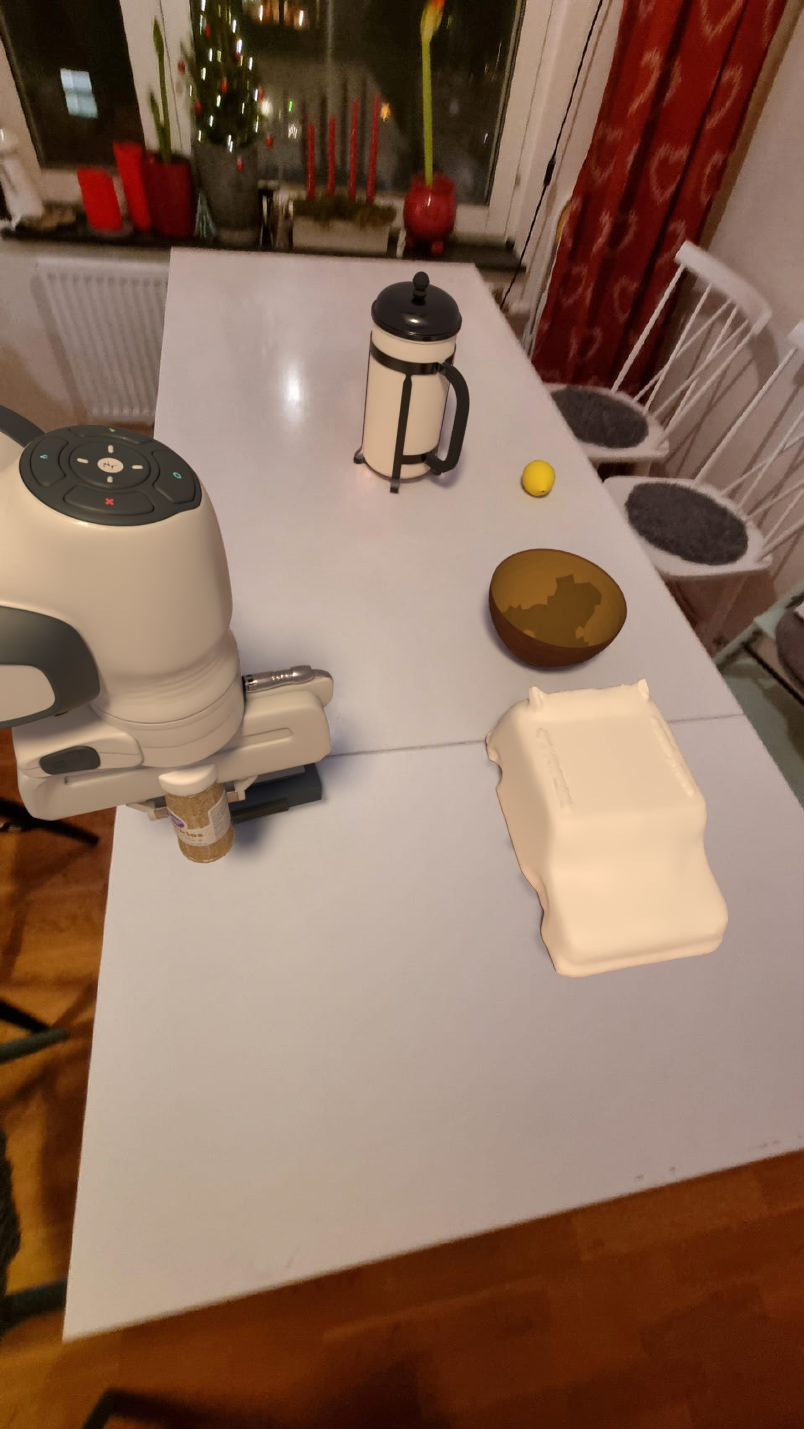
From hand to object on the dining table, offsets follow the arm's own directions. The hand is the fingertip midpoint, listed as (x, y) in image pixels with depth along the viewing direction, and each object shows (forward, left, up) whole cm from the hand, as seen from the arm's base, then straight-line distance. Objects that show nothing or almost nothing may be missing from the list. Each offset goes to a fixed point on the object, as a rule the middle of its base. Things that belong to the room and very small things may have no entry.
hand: (196, 802), depth 53 cm
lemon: (+63, +56, -21) cm, 87 cm away
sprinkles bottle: (0, 0, -6) cm, 6 cm away
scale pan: (+6, +16, -18) cm, 25 cm away
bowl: (+48, +24, -21) cm, 57 cm away
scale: (+6, +16, -21) cm, 27 cm away
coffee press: (+43, +65, -21) cm, 81 cm away
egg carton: (+41, -4, -21) cm, 46 cm away
